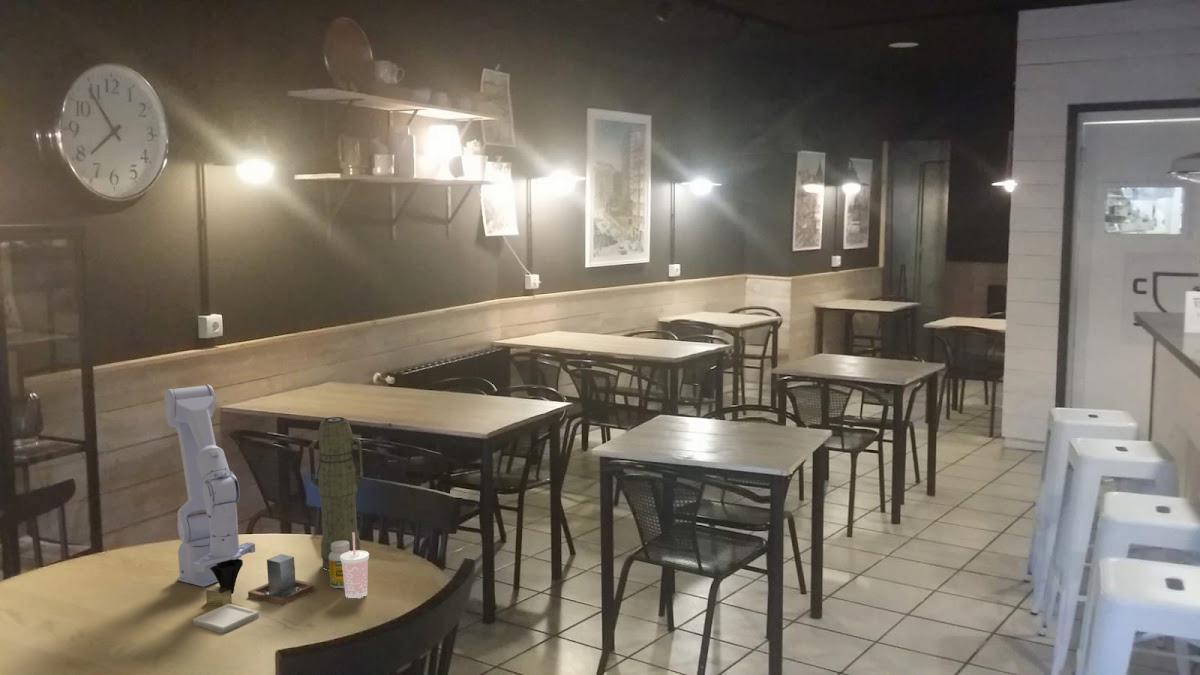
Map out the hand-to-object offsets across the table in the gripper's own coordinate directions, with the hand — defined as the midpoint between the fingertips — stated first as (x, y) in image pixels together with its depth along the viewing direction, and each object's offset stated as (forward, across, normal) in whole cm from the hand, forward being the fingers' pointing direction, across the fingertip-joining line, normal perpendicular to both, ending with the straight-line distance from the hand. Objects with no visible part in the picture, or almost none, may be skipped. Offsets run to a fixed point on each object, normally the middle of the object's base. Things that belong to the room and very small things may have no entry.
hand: (227, 593), depth 221 cm
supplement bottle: (+2, +18, -16) cm, 24 cm away
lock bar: (+1, -2, 0) cm, 3 cm away
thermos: (+1, +27, -7) cm, 28 cm away
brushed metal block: (+1, +8, -8) cm, 11 cm away
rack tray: (+1, -8, -9) cm, 12 cm away
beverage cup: (+2, +15, -23) cm, 27 cm away
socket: (+1, +8, -8) cm, 11 cm away
